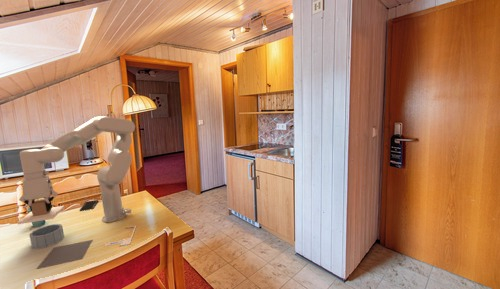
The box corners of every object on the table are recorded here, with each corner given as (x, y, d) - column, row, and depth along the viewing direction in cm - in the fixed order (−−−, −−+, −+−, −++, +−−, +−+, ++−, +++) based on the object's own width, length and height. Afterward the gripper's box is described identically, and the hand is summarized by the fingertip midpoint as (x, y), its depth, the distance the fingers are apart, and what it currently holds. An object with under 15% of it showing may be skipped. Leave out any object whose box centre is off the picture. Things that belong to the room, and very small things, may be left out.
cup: (36, 231, 125) (31, 205, 123) (20, 232, 124) (15, 206, 122) (54, 219, 139) (49, 195, 137) (39, 220, 138) (34, 197, 135)
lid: (64, 207, 120) (62, 194, 119) (53, 218, 108) (50, 204, 107) (33, 212, 115) (30, 198, 114) (17, 224, 103) (14, 209, 102)
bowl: (67, 233, 122) (65, 222, 121) (58, 245, 110) (55, 233, 109) (39, 238, 118) (37, 226, 116) (26, 252, 106) (23, 239, 105)
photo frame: (94, 249, 105) (106, 230, 122) (94, 252, 105) (106, 232, 122) (129, 243, 109) (136, 225, 126) (130, 245, 109) (136, 227, 126)
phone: (98, 199, 165) (93, 207, 151) (98, 201, 165) (93, 209, 151) (85, 201, 162) (79, 210, 148) (85, 203, 162) (79, 211, 149)
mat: (93, 240, 114) (93, 239, 114) (82, 260, 99) (82, 259, 99) (53, 248, 108) (53, 247, 108) (36, 270, 93) (35, 269, 93)
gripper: (60, 170, 115) (66, 205, 118) (16, 175, 109) (24, 211, 112) (53, 174, 108) (60, 211, 111) (6, 179, 102) (14, 218, 105)
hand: (42, 210), depth 111 cm, fingers closed on lid, 4 cm apart
